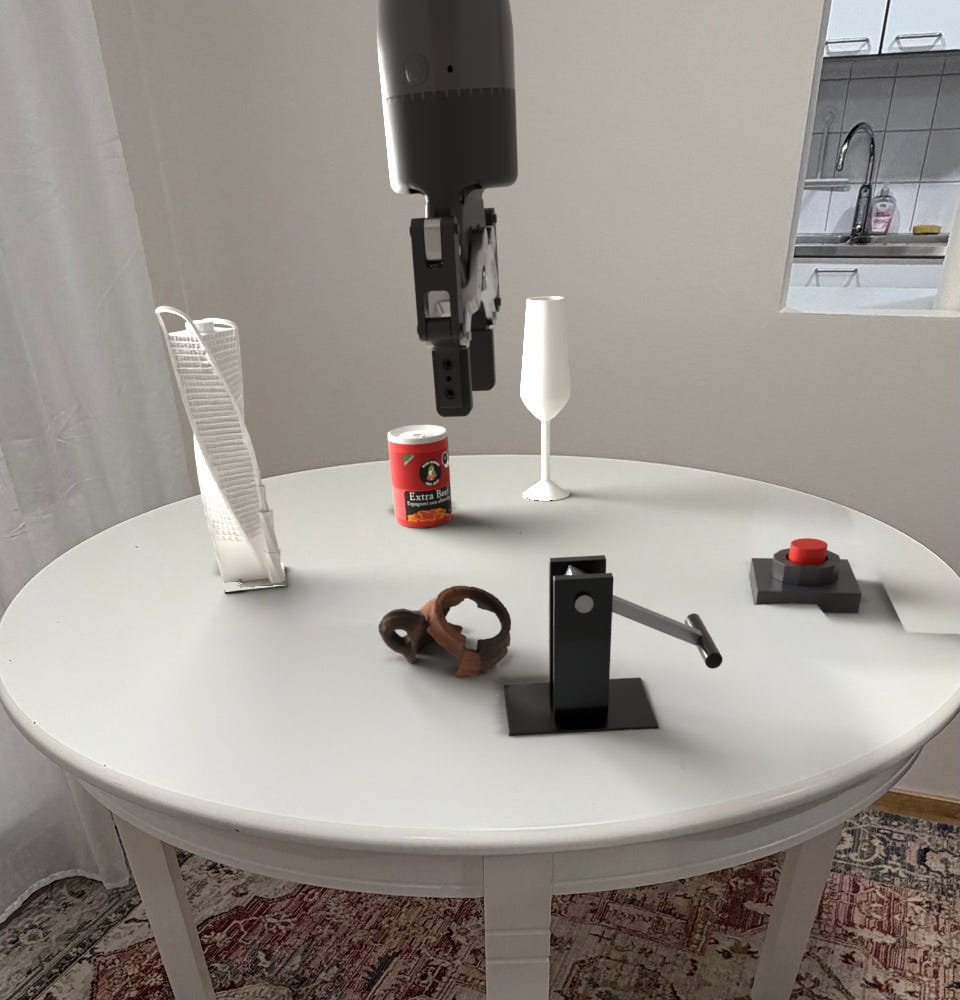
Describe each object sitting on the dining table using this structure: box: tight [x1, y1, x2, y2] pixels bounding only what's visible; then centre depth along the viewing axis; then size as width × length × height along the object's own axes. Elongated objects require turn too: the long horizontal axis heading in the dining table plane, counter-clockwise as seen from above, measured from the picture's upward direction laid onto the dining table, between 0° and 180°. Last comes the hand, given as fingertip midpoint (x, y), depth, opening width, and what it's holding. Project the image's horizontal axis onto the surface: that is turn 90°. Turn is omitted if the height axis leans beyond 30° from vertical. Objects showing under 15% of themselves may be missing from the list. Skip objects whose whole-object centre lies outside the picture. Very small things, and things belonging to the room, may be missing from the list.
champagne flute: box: [519, 295, 572, 502], centre depth 127 cm, size 7×7×24 cm
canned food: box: [387, 424, 453, 529], centre depth 124 cm, size 8×8×11 cm
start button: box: [788, 537, 828, 565], centre depth 97 cm, size 4×4×2 cm
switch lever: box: [564, 565, 723, 670], centre depth 75 cm, size 13×8×2 cm, turn 91°
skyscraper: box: [155, 305, 287, 588], centre depth 103 cm, size 8×8×28 cm
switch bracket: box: [503, 554, 660, 737], centre depth 76 cm, size 12×9×13 cm
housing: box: [748, 547, 863, 614], centre depth 99 cm, size 10×10×4 cm
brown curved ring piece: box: [378, 585, 512, 678], centre depth 87 cm, size 12×10×8 cm
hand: (468, 402), depth 63 cm, fingers open, 8 cm apart
